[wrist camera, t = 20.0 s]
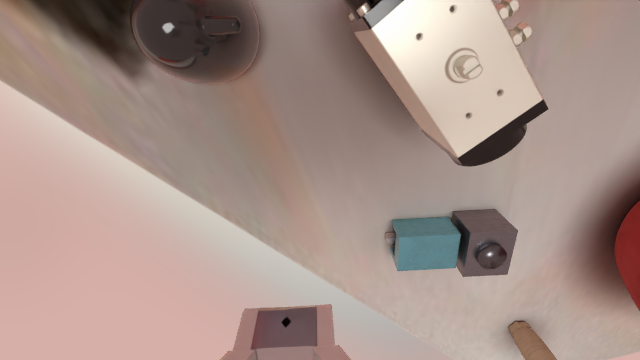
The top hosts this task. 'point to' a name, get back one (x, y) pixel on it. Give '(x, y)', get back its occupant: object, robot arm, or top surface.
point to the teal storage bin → (425, 244)
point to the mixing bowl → (630, 252)
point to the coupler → (481, 242)
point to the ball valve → (454, 70)
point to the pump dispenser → (197, 37)
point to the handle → (530, 342)
